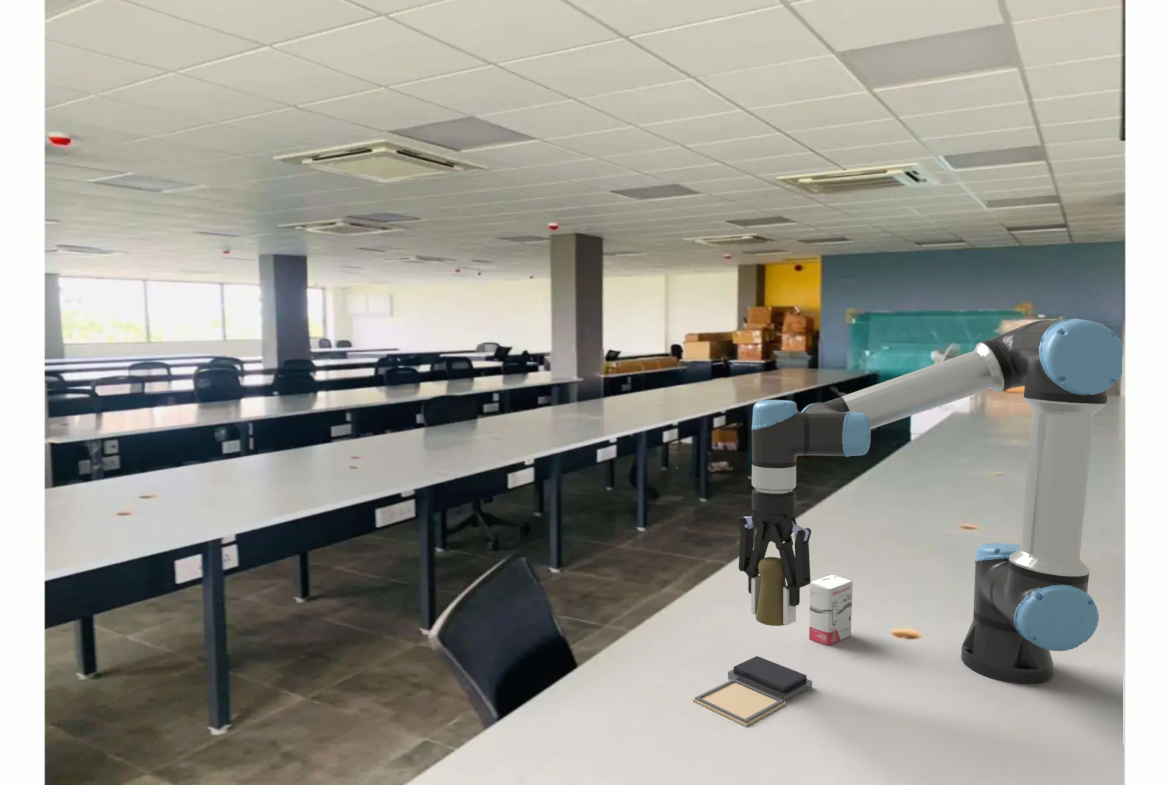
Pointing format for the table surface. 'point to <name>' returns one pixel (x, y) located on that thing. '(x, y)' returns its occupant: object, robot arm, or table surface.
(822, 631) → the ink box
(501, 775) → the table surface
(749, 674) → the ink pad
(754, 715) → the print card
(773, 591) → the olive chess pawn
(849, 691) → the table surface
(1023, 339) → the robot arm
